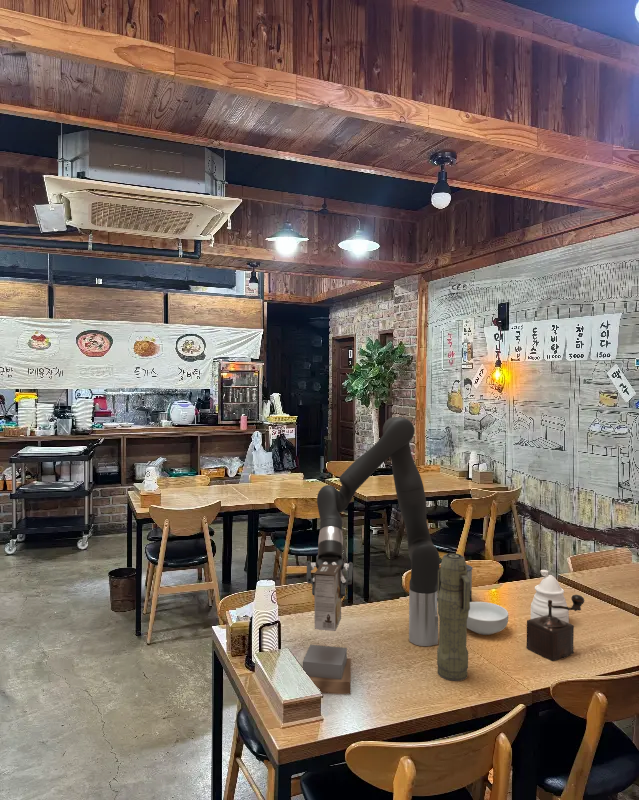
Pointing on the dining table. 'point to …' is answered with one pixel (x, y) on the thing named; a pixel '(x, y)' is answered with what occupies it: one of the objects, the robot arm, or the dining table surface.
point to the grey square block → (325, 661)
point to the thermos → (453, 617)
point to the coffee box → (327, 597)
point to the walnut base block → (335, 682)
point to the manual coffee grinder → (552, 633)
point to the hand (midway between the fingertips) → (328, 596)
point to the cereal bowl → (486, 618)
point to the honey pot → (549, 591)
